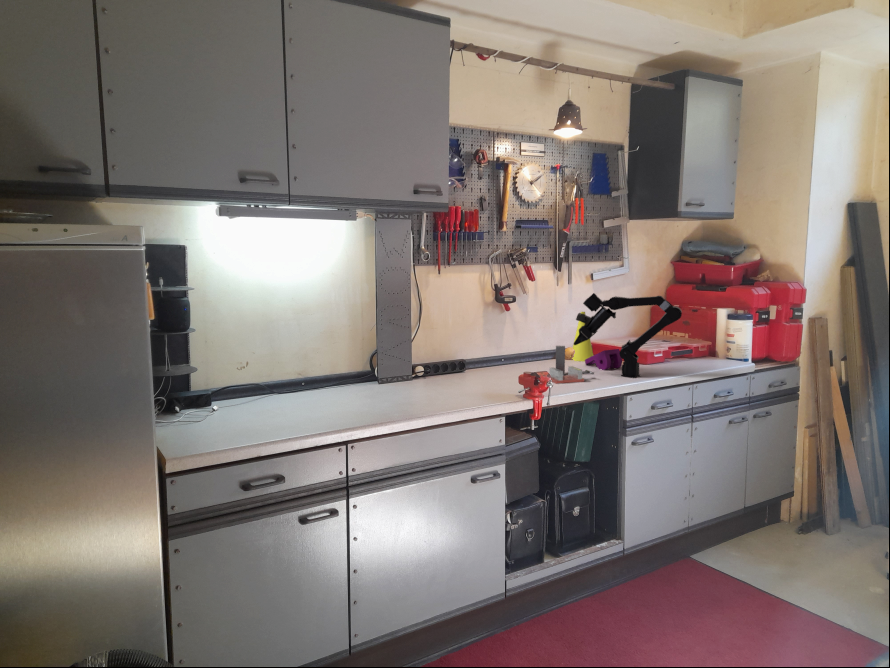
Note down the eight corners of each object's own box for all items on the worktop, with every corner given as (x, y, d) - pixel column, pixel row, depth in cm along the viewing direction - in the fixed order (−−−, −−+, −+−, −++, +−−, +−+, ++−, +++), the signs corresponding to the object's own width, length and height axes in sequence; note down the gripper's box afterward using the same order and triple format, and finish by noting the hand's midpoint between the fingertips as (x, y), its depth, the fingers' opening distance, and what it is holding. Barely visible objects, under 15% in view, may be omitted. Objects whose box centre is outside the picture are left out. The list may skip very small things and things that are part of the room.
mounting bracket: (585, 377, 288) (608, 367, 273) (580, 361, 291) (603, 350, 275) (600, 376, 293) (624, 365, 277) (595, 359, 295) (619, 348, 280)
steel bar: (564, 373, 269) (564, 345, 267) (564, 375, 265) (565, 347, 263) (555, 373, 270) (555, 345, 268) (555, 375, 266) (556, 346, 264)
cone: (565, 359, 307) (565, 311, 304) (579, 356, 315) (580, 310, 312) (584, 362, 298) (585, 313, 295) (598, 359, 306) (600, 311, 303)
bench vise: (585, 376, 261) (585, 365, 261) (595, 380, 253) (595, 369, 252) (547, 379, 257) (547, 367, 256) (556, 383, 248) (556, 371, 247)
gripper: (589, 305, 274) (566, 328, 279) (583, 308, 257) (559, 333, 262) (607, 321, 272) (583, 345, 277) (602, 325, 255) (577, 351, 260)
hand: (575, 343), depth 269 cm, fingers open, 9 cm apart
